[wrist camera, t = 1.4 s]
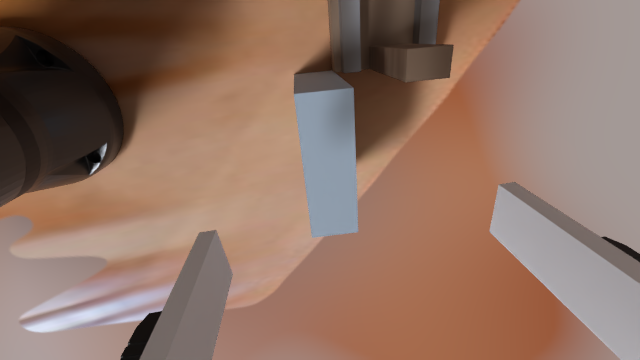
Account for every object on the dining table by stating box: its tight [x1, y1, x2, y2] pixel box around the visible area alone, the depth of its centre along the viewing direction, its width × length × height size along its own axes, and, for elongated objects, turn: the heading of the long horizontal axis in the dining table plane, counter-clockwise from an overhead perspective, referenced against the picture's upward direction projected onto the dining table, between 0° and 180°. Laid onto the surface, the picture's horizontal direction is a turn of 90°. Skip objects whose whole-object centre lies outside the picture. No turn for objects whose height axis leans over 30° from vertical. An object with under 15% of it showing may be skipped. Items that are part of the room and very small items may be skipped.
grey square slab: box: [294, 70, 358, 238], centre depth 27 cm, size 4×12×12 cm, turn 5°
